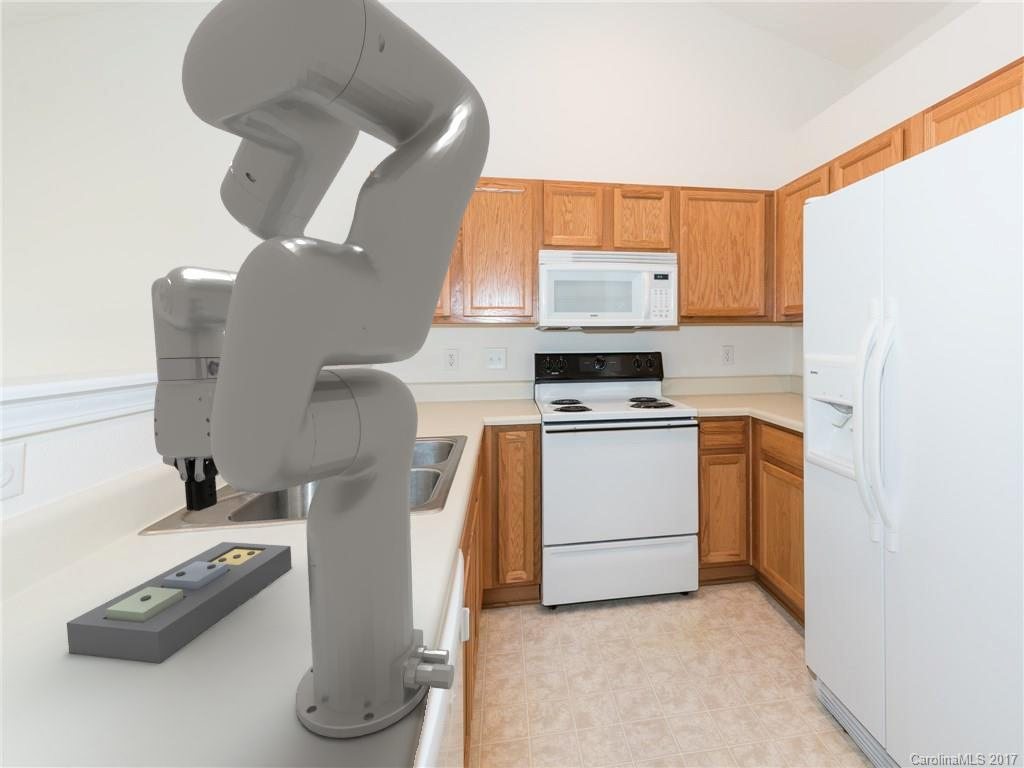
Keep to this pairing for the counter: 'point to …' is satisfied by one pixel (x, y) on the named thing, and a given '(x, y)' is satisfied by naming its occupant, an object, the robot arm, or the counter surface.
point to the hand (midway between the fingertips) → (202, 507)
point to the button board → (178, 608)
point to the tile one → (144, 604)
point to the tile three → (237, 556)
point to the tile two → (195, 575)
